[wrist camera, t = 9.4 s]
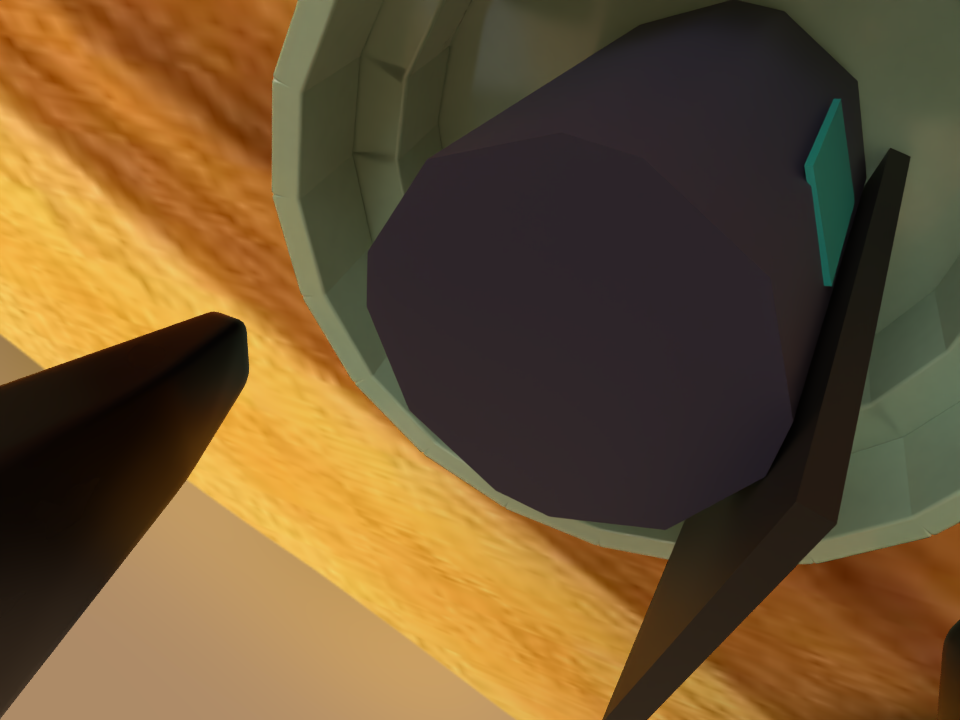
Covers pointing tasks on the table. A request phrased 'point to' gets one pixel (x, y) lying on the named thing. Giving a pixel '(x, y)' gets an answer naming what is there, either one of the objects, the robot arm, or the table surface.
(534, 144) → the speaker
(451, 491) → the table surface
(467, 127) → the bowl
